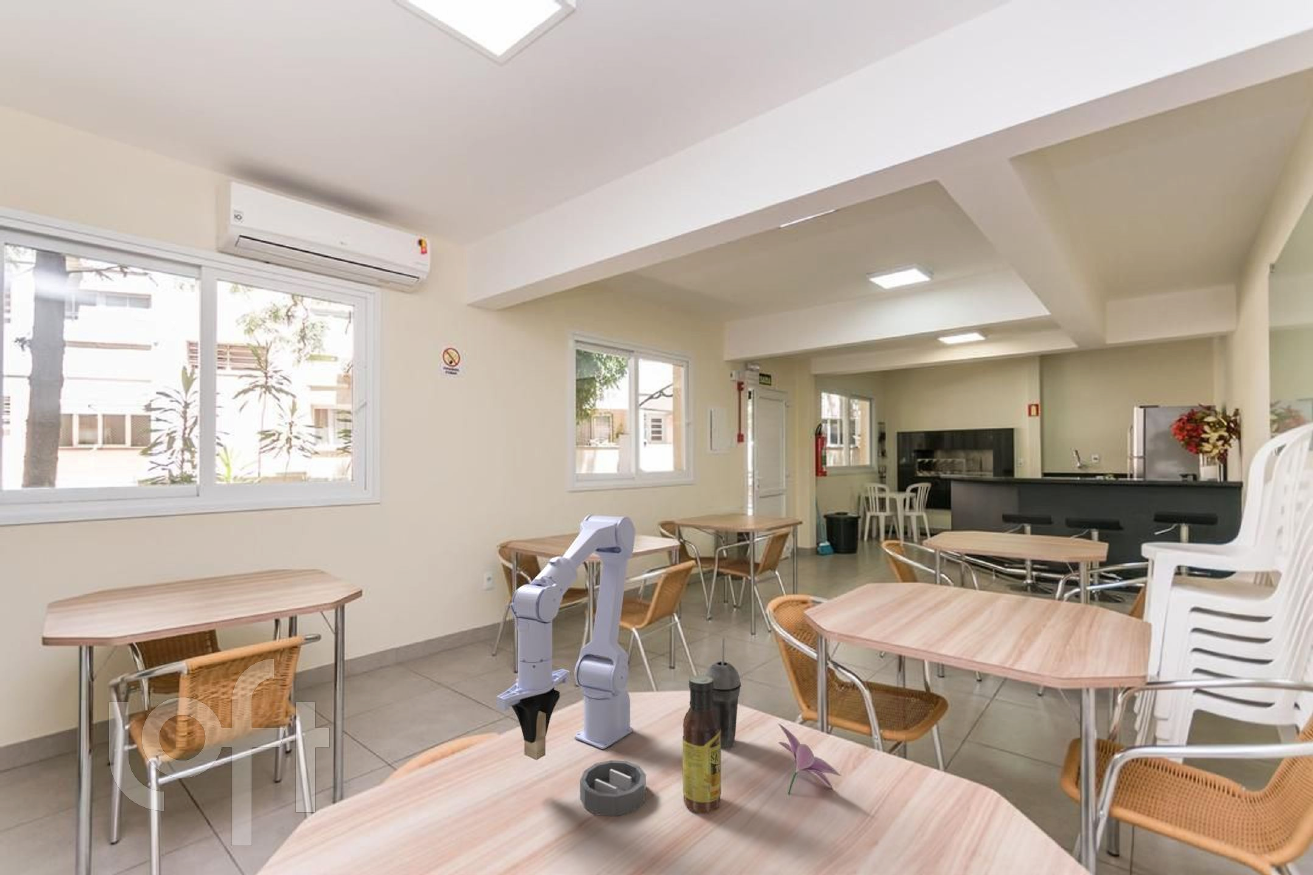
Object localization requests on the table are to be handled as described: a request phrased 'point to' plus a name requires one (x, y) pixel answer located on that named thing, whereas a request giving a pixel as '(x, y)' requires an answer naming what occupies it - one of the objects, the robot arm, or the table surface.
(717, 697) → the beverage cup
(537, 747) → the wooden jenga block
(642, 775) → the grey round bowl
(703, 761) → the sauce bottle
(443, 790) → the table surface
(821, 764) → the lily
